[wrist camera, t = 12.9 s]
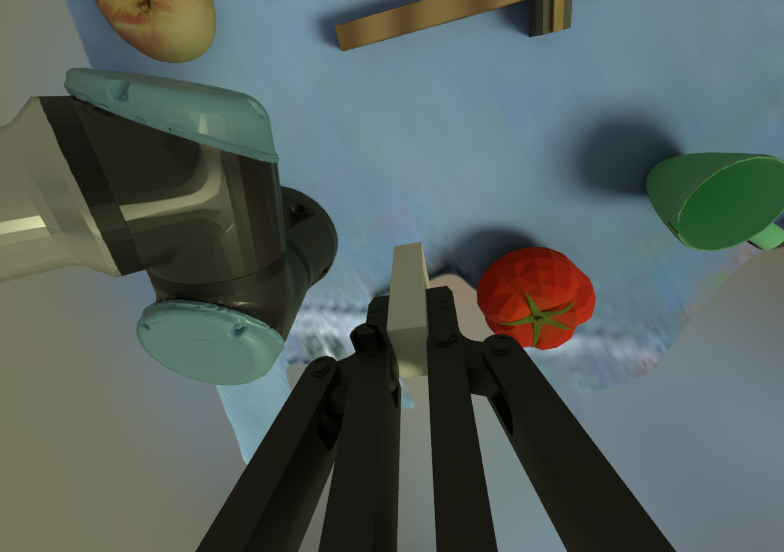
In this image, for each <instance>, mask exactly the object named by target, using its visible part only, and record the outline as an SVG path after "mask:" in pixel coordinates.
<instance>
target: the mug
mask: <svg viewBox="0 0 784 552" xmlns="http://www.w3.org/2000/svg"><path fill="white" fill-rule="evenodd" d="M645 186H646V189H647V192H648V195H649V198H650V201H651V203H652V205H653V207H654V209H655V211H656V213H657V214H658V216H659V217H660V218H661V220H662V221H663V223H664V224H665V225H666V226H667V227H668V228H669V230H670V231H671V232H672V233H673V234H674V236H675V237H676V238H677V239H678V240H679V241H680V242H681V243H682V244H684V245H685V246H687V247H690V248H692V249H695V250H698V251H716V250H721V249H726V248H731V247H733V246H735V245H738V244H740V243H743V242H745V241H746V242H748V243H750V244H751V245H753V246H755V247H756V248H759V249H762V250H769V249H772V248H774V247H776V246H778V245H779V244H781V243H782V242H783V241H784V230H782V229H781V228H780V227H778V226H777V225H775V224H774V223H773V222H774V221H775V220H776V219H777V218H778V217H779V216H780V215H781V213H782V212H783V210H784V161H782V160H780V159H778V158H776V157H773V156H769V155H764V154H747V153H711V152H708V153H694V154H686V155H680V156H675V157H670V158H666V159H664V160H663V161H661V162H659V163H658V164H657V165H655V166H654V167H653V168H652V169H651V171H650V172H649V173H648V176H647V178H646V184H645Z"/></svg>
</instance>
